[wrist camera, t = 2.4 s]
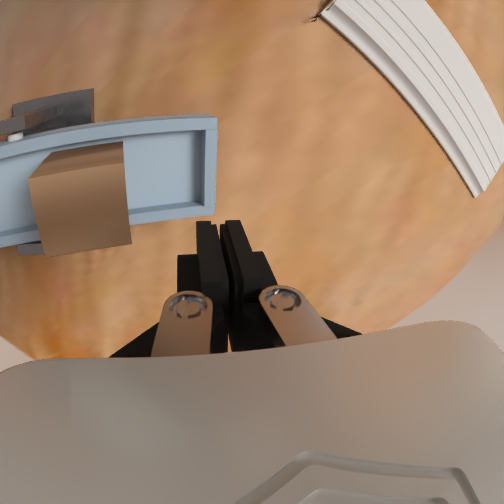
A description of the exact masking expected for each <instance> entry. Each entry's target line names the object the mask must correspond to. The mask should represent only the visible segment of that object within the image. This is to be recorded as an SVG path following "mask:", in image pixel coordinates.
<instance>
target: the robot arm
mask: <svg viewBox="0 0 504 504" xmlns="http://www.w3.org/2000/svg"><path fill="white" fill-rule="evenodd" d="M196 239H197V254H189V255H178V257H177V293H175V294H173V295H171V296H170V297H169V298H168V299H167V300H166V301H165V303H164V306H163V309H162V313H161V317H160V321H159V322H158V323H157V324H155V325H154V326H152V327H151V328H150V329H148V330H147V331H145V332H144V333H142V334H141V335H140V336H138V337H137V338H135V339H134V340H133V341H131V342H130V343H128V344H127V345H125V346H124V347H123V348H121V349H120V350H118V351H117V352H115V353H114V354H113V355H111V356H110V357H109V358H53V359H42V360H36V361H30V362H26V363H23V364H19V365H16V366H13V367H11V368H8V369H6V370H4V371H2V372H0V504H504V352H503V351H502V350H501V349H500V348H499V347H498V345H497V344H496V343H495V342H494V341H493V340H492V339H491V338H490V337H489V336H488V335H487V334H486V333H485V332H483V331H482V330H481V329H480V328H478V327H477V326H475V325H472V324H468V323H464V322H459V321H433V322H425V323H420V324H414V325H409V326H403V327H398V328H394V329H389V330H384V331H379V332H374V333H368V334H361V333H359V332H356V331H354V330H351V329H349V328H347V327H344V326H342V325H339V324H337V323H335V322H332V321H330V320H327V319H325V318H323V317H320V315H319V314H318V313H317V312H316V310H315V309H314V308H313V306H312V305H311V304H310V303H309V301H308V300H307V299H306V297H305V296H304V295H303V294H302V293H301V292H300V291H298V290H297V289H295V288H292V287H289V286H283V285H278V284H277V281H276V279H275V277H274V275H273V273H272V270H271V268H270V266H269V264H268V261H267V259H266V257H265V255H264V253H263V252H262V251H258V252H252V249H251V247H250V244H249V242H248V239H247V237H246V234H245V231H244V229H243V226H242V224H241V221H240V220H226V221H225V224H220V240H219V235H218V231H217V226H216V224H214V225H211V221H196ZM228 336H229V341H230V345H231V350H232V352H231V353H226V352H228Z"/></svg>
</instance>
